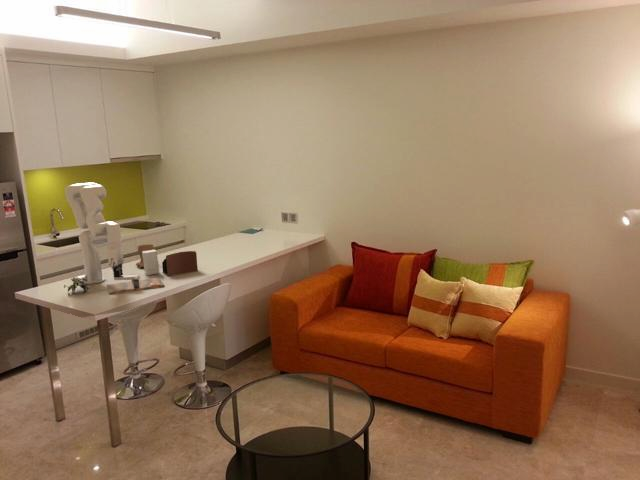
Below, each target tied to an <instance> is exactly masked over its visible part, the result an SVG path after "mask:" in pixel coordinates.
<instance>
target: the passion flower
mask: <svg viewBox="0 0 640 480" xmlns="http://www.w3.org/2000/svg"><path fill="white" fill-rule="evenodd" d="M80 277H81V276H80ZM81 278H82V279H83V280H85V281H87V280H86V279H85V278H83V277H81ZM70 280H71V281H72V284H71V285H69V286H66V284H64V286H63V288H64V289H65V287H66V288H67V292H68V293H69V291H71V295H73V293H74V292H75V291H76V289H77V287H78V286H79V287H80V288H81V289H83V291H84V292H85V293H87V292H88V289H89V288H90V287H89V284H85V283H84V282H83V280H79V279H77V277H72V278H70Z"/></svg>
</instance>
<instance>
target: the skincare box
mask: <svg viewBox="0 0 640 480" xmlns="http://www.w3.org/2000/svg"><path fill="white" fill-rule="evenodd" d="M142 255H143V263H144V267H143V270H144V274H145V275H146V276H151V275H155V274H160V269H159V260H158V258H159V257H158V252H157V250H156V249H154V250H149V251H143V252H142Z"/></svg>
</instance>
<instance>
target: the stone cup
mask: <svg viewBox="0 0 640 480" xmlns="http://www.w3.org/2000/svg"><path fill="white" fill-rule="evenodd" d="M149 250H155V249H154V245H153V243H144V244H143V243H142V244H138V245H137V252H138V255H139V258H140V261H139V262H137V263H135V266H136V267H137V268H139V269H140V268H144V263H143V255H142V252H143V251H149Z"/></svg>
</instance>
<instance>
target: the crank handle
mask: <svg viewBox="0 0 640 480" xmlns="http://www.w3.org/2000/svg"><path fill="white" fill-rule="evenodd" d="M115 267H116V266H115ZM121 269H122V268H121ZM121 269H120V266H118V270H119V275H120V277H114V276H113V281H129V280H130V281H131V280H141V277H140V276H141V275H139V274H135V275H134V276H131V275H121Z"/></svg>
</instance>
